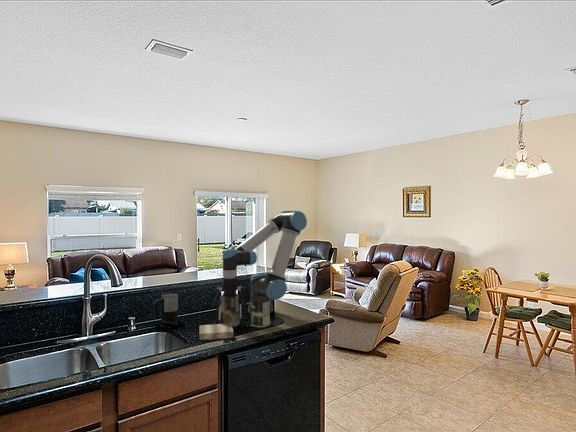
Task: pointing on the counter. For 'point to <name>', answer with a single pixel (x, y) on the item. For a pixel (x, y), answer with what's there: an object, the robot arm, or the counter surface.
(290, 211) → the robot arm
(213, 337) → the birch base
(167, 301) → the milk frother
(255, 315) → the coffee can
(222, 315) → the coffee box
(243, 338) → the counter surface
